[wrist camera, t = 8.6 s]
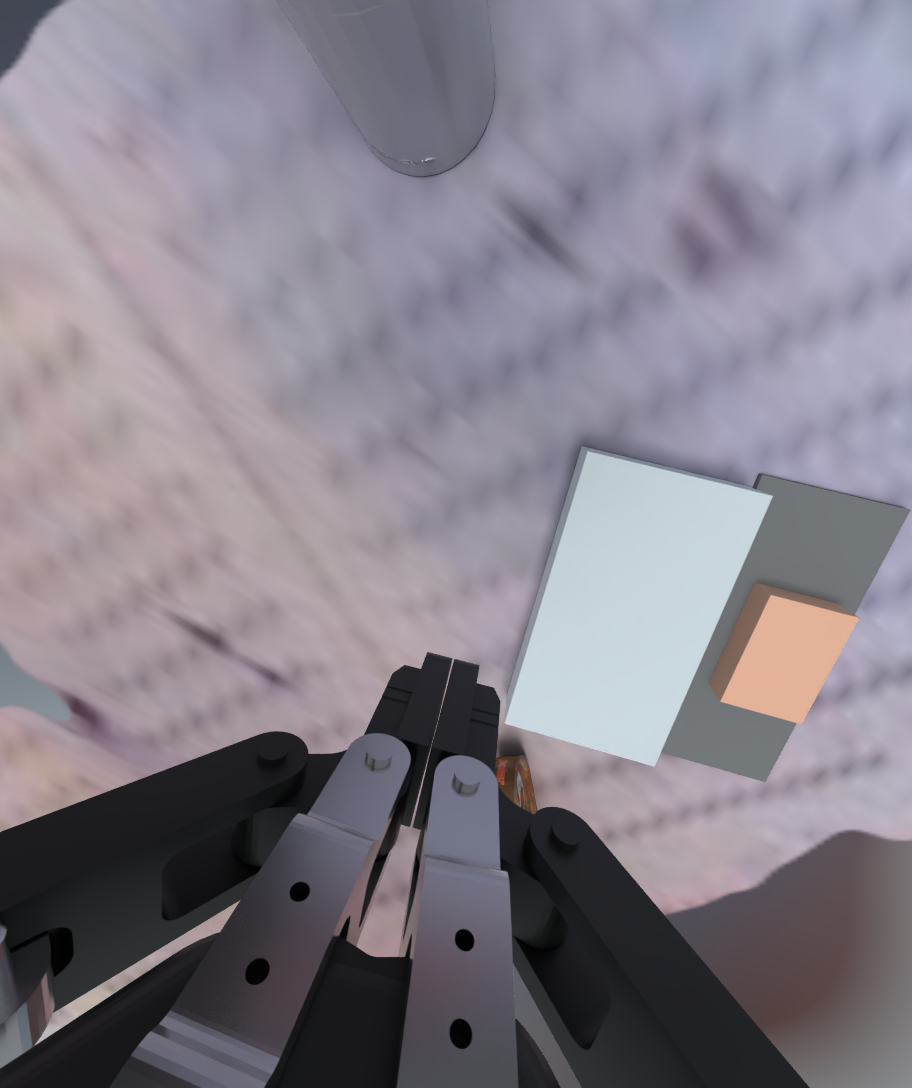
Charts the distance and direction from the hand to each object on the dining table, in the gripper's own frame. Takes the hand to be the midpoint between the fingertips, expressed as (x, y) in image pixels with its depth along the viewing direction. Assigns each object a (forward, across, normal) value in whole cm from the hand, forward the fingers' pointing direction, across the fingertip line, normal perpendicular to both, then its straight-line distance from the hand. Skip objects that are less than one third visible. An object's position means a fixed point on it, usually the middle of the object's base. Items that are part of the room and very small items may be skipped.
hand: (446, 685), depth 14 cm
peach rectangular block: (+22, -23, +6) cm, 32 cm away
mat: (+25, -23, +6) cm, 34 cm away
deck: (+25, -11, +6) cm, 28 cm away
